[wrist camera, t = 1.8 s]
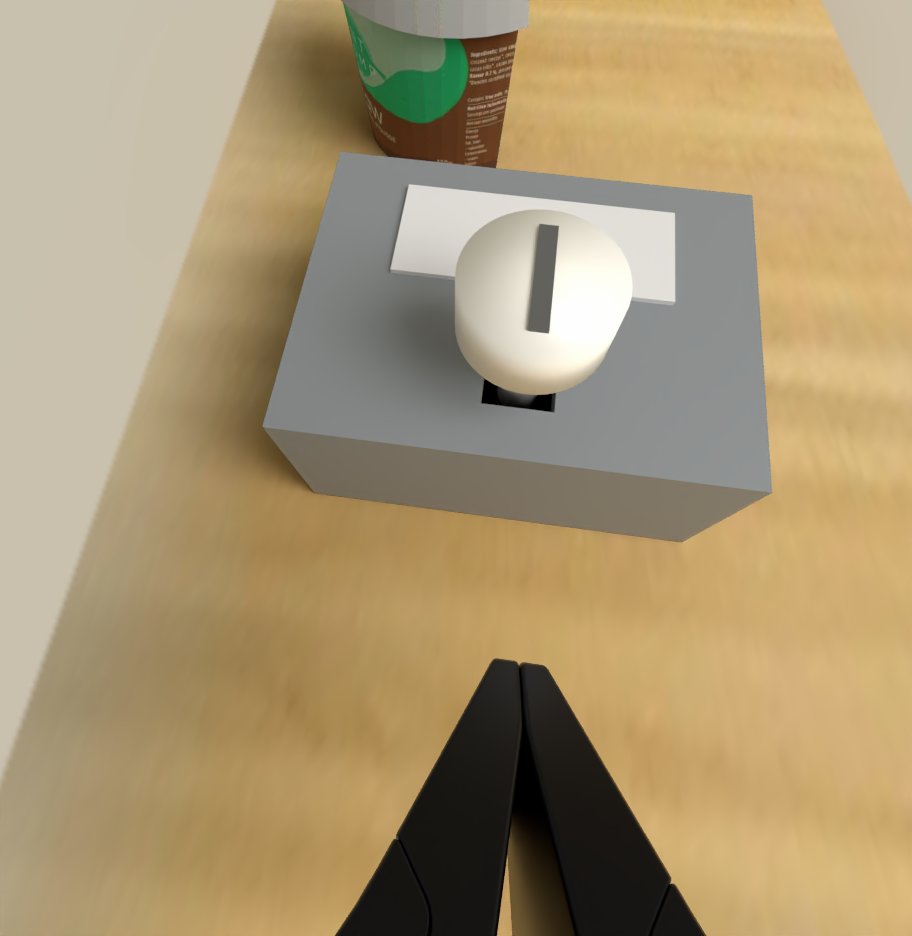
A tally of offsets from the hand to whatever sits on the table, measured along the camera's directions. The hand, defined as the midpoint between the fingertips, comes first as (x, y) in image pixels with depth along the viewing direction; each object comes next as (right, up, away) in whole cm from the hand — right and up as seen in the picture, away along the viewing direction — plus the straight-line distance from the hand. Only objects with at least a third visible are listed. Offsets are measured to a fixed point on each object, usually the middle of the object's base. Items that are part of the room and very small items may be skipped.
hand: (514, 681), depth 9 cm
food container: (-4, +23, +23) cm, 32 cm away
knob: (+1, +6, +10) cm, 12 cm away
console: (+2, +7, +17) cm, 18 cm away
